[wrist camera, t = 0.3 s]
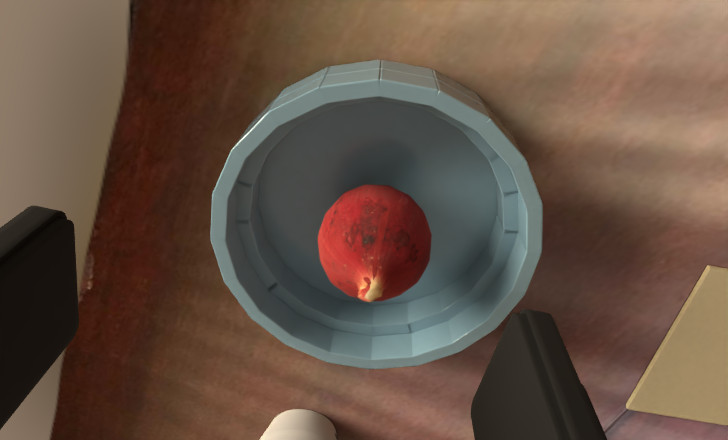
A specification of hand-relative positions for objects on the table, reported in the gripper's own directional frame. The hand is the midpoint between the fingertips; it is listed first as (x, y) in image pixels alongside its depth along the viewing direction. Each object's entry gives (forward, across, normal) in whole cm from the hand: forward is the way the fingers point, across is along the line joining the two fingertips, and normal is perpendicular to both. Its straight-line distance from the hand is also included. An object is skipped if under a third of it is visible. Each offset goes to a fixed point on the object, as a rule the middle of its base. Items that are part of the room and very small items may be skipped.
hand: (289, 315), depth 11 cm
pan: (+18, -3, +6) cm, 20 cm away
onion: (+18, -3, +6) cm, 19 cm away
